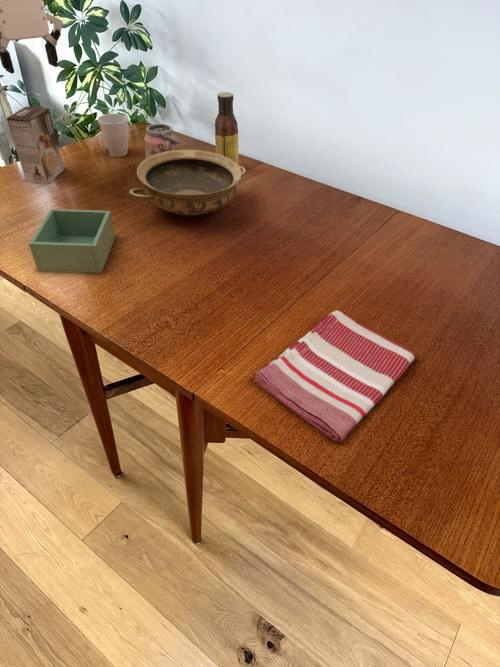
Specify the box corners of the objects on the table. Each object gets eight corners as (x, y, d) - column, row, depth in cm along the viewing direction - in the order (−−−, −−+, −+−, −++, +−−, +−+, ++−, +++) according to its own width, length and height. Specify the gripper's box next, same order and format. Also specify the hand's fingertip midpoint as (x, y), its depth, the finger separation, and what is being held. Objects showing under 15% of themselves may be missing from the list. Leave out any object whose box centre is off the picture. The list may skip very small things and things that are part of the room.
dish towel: (250, 383, 73) (251, 372, 72) (334, 315, 87) (337, 304, 85) (338, 447, 66) (342, 436, 64) (416, 361, 79) (421, 350, 77)
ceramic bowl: (154, 248, 100) (149, 206, 93) (115, 201, 115) (108, 162, 108) (269, 216, 113) (272, 177, 106) (221, 177, 127) (221, 140, 120)
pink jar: (174, 163, 132) (171, 120, 124) (186, 175, 127) (184, 130, 119) (143, 169, 129) (138, 124, 120) (154, 181, 123) (150, 135, 115)
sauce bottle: (240, 167, 132) (242, 92, 119) (235, 176, 128) (236, 99, 114) (218, 164, 133) (218, 89, 120) (212, 173, 129) (211, 96, 115)
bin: (37, 272, 92) (28, 243, 88) (57, 235, 102) (50, 208, 98) (101, 274, 93) (95, 245, 88) (115, 237, 103) (110, 210, 98)
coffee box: (42, 167, 127) (26, 105, 116) (64, 170, 126) (50, 107, 115) (25, 182, 120) (5, 117, 109) (48, 185, 119) (31, 120, 108)
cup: (110, 147, 139) (105, 112, 132) (136, 150, 138) (132, 115, 131) (99, 157, 133) (92, 121, 126) (125, 161, 132) (120, 125, 125)
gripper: (42, -34, 96) (61, 59, 108) (-47, -32, 87) (-15, 70, 99) (59, -30, 92) (77, 67, 104) (-32, -27, 83) (-1, 79, 95)
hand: (32, 68), depth 101 cm, fingers open, 9 cm apart
